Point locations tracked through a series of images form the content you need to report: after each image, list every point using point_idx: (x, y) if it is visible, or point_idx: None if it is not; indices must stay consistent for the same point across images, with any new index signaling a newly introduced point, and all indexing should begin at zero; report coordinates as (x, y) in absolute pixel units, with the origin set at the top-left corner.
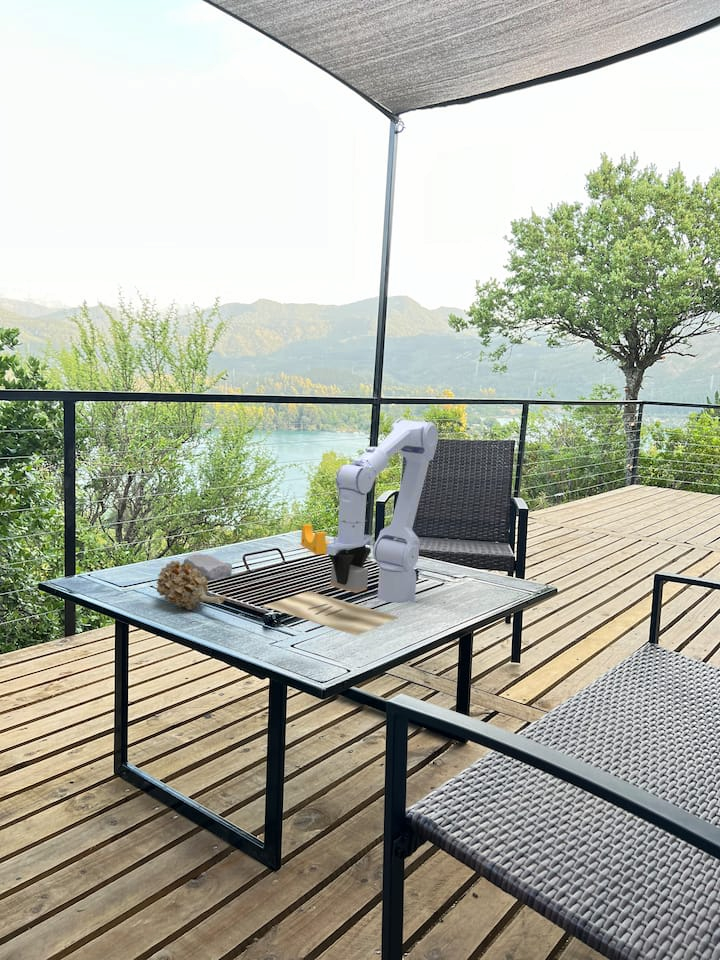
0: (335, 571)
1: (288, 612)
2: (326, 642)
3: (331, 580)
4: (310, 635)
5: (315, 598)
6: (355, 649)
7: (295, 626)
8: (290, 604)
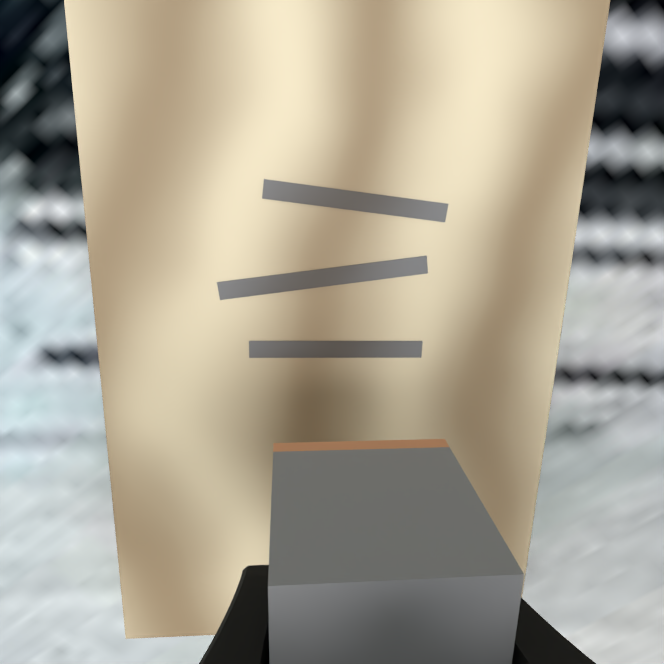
0: (206, 655)
1: (100, 126)
2: (16, 524)
3: (273, 479)
4: (20, 410)
5: (500, 62)
6: (64, 655)
7: (55, 255)
8: (250, 9)
